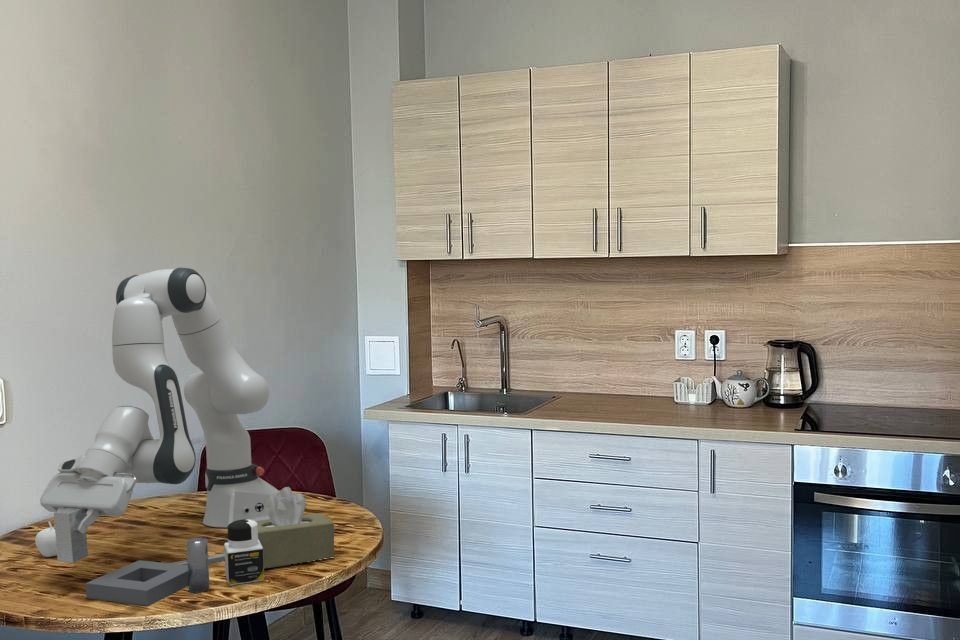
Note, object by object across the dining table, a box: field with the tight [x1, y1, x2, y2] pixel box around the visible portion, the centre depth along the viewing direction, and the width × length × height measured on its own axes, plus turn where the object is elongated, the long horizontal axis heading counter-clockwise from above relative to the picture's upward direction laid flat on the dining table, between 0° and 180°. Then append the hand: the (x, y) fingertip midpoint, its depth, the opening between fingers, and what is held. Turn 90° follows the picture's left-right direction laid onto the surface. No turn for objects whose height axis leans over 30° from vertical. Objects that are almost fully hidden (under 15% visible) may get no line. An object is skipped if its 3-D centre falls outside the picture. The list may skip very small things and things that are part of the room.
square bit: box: [53, 507, 89, 564], centre depth 184 cm, size 4×4×10 cm
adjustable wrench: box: [169, 553, 225, 565], centre depth 200 cm, size 25×6×2 cm, turn 115°
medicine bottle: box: [223, 519, 265, 586], centre depth 188 cm, size 7×7×12 cm
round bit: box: [186, 537, 210, 594], centre depth 182 cm, size 4×4×10 cm
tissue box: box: [256, 486, 335, 570], centre depth 200 cm, size 19×10×16 cm, turn 117°
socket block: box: [85, 559, 189, 607], centre depth 183 cm, size 15×15×3 cm
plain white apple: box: [34, 520, 57, 558], centre depth 208 cm, size 7×7×8 cm
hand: (68, 531), depth 184 cm, fingers closed on square bit, 4 cm apart
